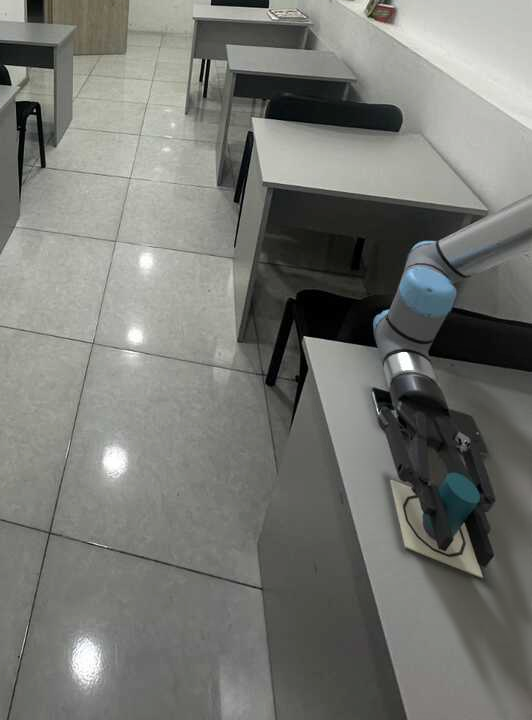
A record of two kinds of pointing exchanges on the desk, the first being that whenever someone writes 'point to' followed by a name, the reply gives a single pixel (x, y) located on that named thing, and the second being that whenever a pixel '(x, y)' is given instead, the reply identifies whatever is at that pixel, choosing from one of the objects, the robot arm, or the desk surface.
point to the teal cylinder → (455, 502)
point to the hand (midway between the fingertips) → (465, 551)
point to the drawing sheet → (421, 542)
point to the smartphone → (460, 419)
